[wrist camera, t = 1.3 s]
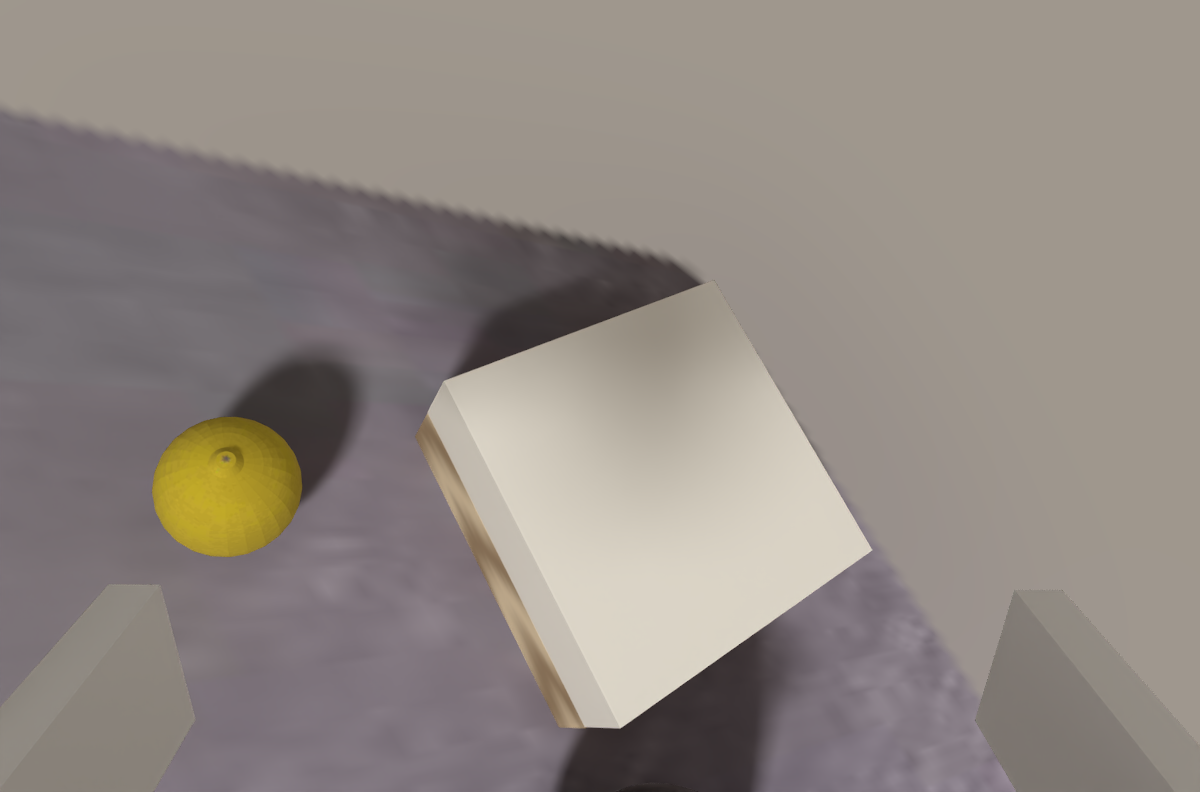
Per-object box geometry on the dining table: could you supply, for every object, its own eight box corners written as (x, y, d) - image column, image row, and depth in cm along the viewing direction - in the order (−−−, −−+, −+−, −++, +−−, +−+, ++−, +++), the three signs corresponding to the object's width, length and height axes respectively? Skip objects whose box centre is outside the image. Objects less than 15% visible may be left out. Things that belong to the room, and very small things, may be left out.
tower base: (413, 439, 40) (427, 413, 37) (650, 343, 48) (679, 314, 44) (555, 727, 38) (584, 728, 34) (780, 575, 45) (822, 564, 42)
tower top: (427, 412, 37) (444, 380, 33) (679, 313, 44) (714, 279, 41) (584, 727, 34) (620, 728, 31) (822, 563, 42) (872, 550, 39)
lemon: (323, 497, 37) (336, 447, 30) (241, 595, 34) (234, 565, 27) (226, 429, 36) (217, 361, 29) (134, 523, 34) (100, 473, 27)
